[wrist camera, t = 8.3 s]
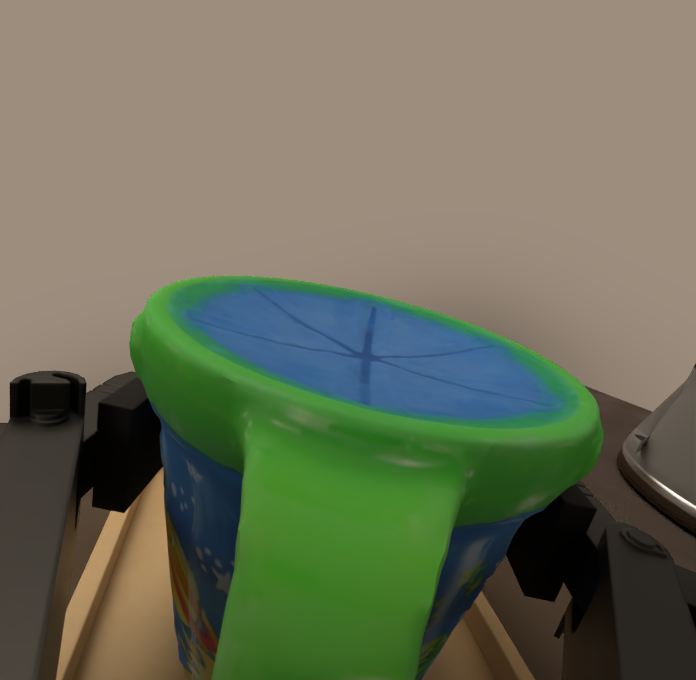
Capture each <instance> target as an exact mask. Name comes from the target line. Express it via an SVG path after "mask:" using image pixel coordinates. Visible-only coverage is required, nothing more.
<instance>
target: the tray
mask: <svg viewBox="0 0 696 680" xmlns="http://www.w3.org/2000/svg"><path fill="white" fill-rule="evenodd" d="M163 479H164V468H163V467H162V468H161V469H160V471H159V472H158V473H157V474H156V475H155V477H154V478H153V479H152V480H151V481H150V483H149V484H148V485H147V486H146V487H145V489H144V490H143V491H142V492H141V493H140V495H139V496H138V497H137V498H136V500H135V501H134V502H133V503H132V504H131V506H130V507H129V508H128V509H127V510H126V512H125V513H121V512H116V511H111V512H110V514H109V516H108V519H107V521H106V523H105V525H104V528H103V530H102V532H101V534H100V536H99V539H98V541H97V543H96V545H95V548H94V550H93V552H92V554H91V556H90V559H89V561H88V563H87V565H86V568H85V570H84V572H83V574H82V576H81V579H80V581H79V583H78V585H77V587H76V590H75V592H74V594H73V596H72V599H71V601H70V603H69V605H68V607H67V610H66V613H65V620H64V627H63V634H62V641H61V648H60V655H59V662H58V669H57V676H56V680H188V678H187V676H186V674H185V672H184V667H183V665H182V663H181V662H180V660H179V652H178V641H177V637H176V633H175V627H174V612H173V595H172V589H171V581H170V571H169V558H168V545H167V531H166V520H165V508H164V485H163ZM422 680H535V679H534V677H533V676H532V674H531V672H530V671H529V669H528V667H527V666H526V664H525V662H524V661H523V659H522V657H521V656H520V654H519V652H518V651H517V649H516V647H515V646H514V644H513V642H512V641H511V639H510V637H509V636H508V634H507V632H506V631H505V629H504V627H503V626H502V624H501V622H500V621H499V619H498V617H497V616H496V614H495V612H494V611H493V609H492V607H491V606H490V604H489V602H488V601H487V599H486V597H485V596H484V594H483V592H482V591H481V592H480V594H479V595H478V597H477V598H476V600H475V601H474V603H473V604H472V606H471V608H470V609H469V610H468V611H466V612H465V614H464V616H463V618H462V620H461V621H460V622H459V623H458V625H457V626H456V627H455V628H454V630H453V631H452V633H451V635H450V637H449V638H448V640H447V641H446V643H445V645H444V647H443V649H442V650H441V652H440V654H439V655H438V657H437V658H436V659H435V660H434V662H433V664H432V666H431V667H430V668H429V670H428V671H427V673H426V674H425V676H424V677H423V678H422Z"/></svg>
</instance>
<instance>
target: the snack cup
mask: <svg viewBox="0 0 696 680" xmlns="http://www.w3.org/2000/svg"><path fill="white" fill-rule="evenodd" d="M129 344H130V355H131V359H132V362H133V365H134V368H135V372H136V375H137V377H138V378H139V379H140V380H141V381H142V383H143V385H144V388H145V391H146V394H147V396H148V398H149V401H150V403H151V406H152V409H153V410H154V412H155V414H156V415H157V416H158V417H159V419H160V422H161V425H162V428H161V433H160V451H161V461H162V465H163V468H164V479H163V485H164V508H165V520H166V531H167V545H168V558H169V571H170V581H171V589H172V595H173V612H174V627H175V633H176V637H177V641H178V652H179V660H180V662H181V663H182V665H183V667H184V672H185V674H186V676H187V678H188V680H422V678H423V677H424V676H425V674H426V673H427V671H428V670H429V668H430V667H431V666H432V664H433V662H434V660H435V659H436V658H437V657H438V655H439V654H440V652H441V650H442V649H443V647H444V645H445V643H446V641H447V640H448V638H449V637H450V635H451V633H452V631H453V630H454V628H455V627H456V626H457V625H458V623H459V622H460V621H461V620H462V618H463V616H464V614H465V612H466V611H468V610H469V609H470V608H471V606H472V604H473V603H474V601H475V600H476V598H477V597H478V595H479V594H480V592H481V591H482V589H483V587H484V584H485V581H486V579H487V578H488V577H490V576H491V575H493V573H494V571H495V570H496V568H497V567H498V565H499V564H500V562H501V561H502V560H503V558H504V556H505V554H506V552H507V549H508V547H509V544H510V542H511V540H512V538H513V536H514V535H515V533H516V531H517V530H518V528H519V527H520V525H521V524H522V523H523V521H524V520H525V519H527V518H528V517H530V516H532V515H533V514H536V513H538V512H541V511H543V510H544V509H545V508H546V507H547V506H548V505H549V504H550V503H551V502H552V501H553V500H554V499H556V498H557V497H558V496H559V495H560V494H561V493H562V492H563V491H565V490H566V489H567V488H569V487H570V486H572V485H574V484H576V483H577V482H578V481H580V480H581V479H583V478H584V477H585V476H586V475H587V474H588V473H589V472H590V471H591V470H592V469H593V467H594V466H595V464H596V462H597V460H598V457H599V455H600V452H601V450H602V444H603V433H604V432H603V428H602V425H601V421H600V416H599V408H598V404H597V402H596V400H595V398H594V397H593V396H592V394H591V393H590V392H589V391H588V390H587V388H586V387H585V386H584V385H582V384H581V383H580V382H579V381H578V380H577V379H576V378H575V377H573V376H572V375H571V374H569V373H568V372H567V371H565V370H564V369H563V368H561V367H559V366H558V365H557V364H555V363H553V362H552V361H550V360H548V359H546V358H544V357H542V356H541V355H539V354H537V353H535V352H533V351H531V350H530V349H527V348H525V347H524V346H522V345H520V344H518V343H516V342H514V341H512V340H509V339H507V338H505V337H502V336H500V335H498V334H495V333H493V332H490V331H488V330H486V329H483V328H481V327H478V326H475V325H472V324H470V323H467V322H464V321H461V320H459V319H456V318H452V317H450V316H447V315H444V314H441V313H438V312H435V311H432V310H428V309H424V308H421V307H417V306H414V305H410V304H407V303H404V302H400V301H396V300H392V299H388V298H384V297H381V296H377V295H372V294H368V293H363V292H359V291H354V290H350V289H344V288H339V287H333V286H328V285H323V284H317V283H311V282H304V281H296V280H287V279H279V278H264V277H251V276H216V277H215V276H212V277H202V278H192V279H187V280H182V281H179V282H175V283H172V284H170V285H168V286H164V287H163V288H161V289H159V290H158V291H157V292H155V293H154V294H153V295H152V296H151V298H150V299H149V300H148V301H147V304H146V306H145V309H144V311H143V312H142V313H141V314H139V315H138V316H137V318H136V319H135V321H134V322H133V324H132V330H131V336H130V343H129Z"/></svg>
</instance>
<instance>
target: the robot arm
mask: <svg viewBox="0 0 696 680" xmlns="http://www.w3.org/2000/svg"><path fill="white" fill-rule="evenodd" d="M161 428H162V425H161V422H160V419H159V417H158V416H157V415H156V414H155V412H154V410H153V409H152V406H151V403H150V401H149V398H148V396H147V394H146V391H145V388H144V385H143V383H142V381H141V380H140V379H139V378H138V377H137V375H136V372H128V373H124V374H121V375H117V376H114V377H112V378H111V379H109V380H107V381H106V382H104V383H103V385H99V386H97V387H96V388H94V389H93V391H89V392H87V393H86V381H85V379H84V378H83V377H81V376H80V375H78V374H74V373H70V372H63V371H39V372H34V373H28V374H25V375H22V376H19V377H17V378H15V379H14V380H13V381H12V382H10V420H9V422H8V423H0V680H56V676H57V669H58V662H59V655H60V648H61V641H62V634H63V627H64V620H65V613H66V606H67V599H68V592H69V585H70V578H71V571H72V564H73V557H74V550H75V543H76V536H77V529H78V522H79V515H80V501H81V498H82V497H83V496H84V495H85V494H86V493H87V492H88V491H89V490H90V489H91V488H92V487H93V500H92V507H96V508H101V509H106V510H111V511H116V512H121V513H125V512H126V510H127V509H128V508H129V507H130V506H131V504H132V503H133V502H134V501H135V500H136V498H137V497H138V496H139V495H140V493H141V492H142V491H143V490H144V489H145V487H146V486H147V485H148V484H149V483H150V481H151V480H152V479H153V478H154V477H155V475H156V474H157V473H158V472H159V471H160V469H161V468H162V467H163V465H162V461H161V451H160V433H161ZM617 464H618V467H619V469H620V471H621V472H622V474H623V475H624V476H625V478H626V479H627V480H628V481H629V482H630V484H631V485H632V486H633V487H634V488H635V489H636V490H637V491H639V492H640V493H641V494H642V495H643V496H644V497H645V498H646V499H648V500H649V501H650V502H651V503H652V504H654V505H655V506H656V507H657V508H659V509H660V510H661V511H663V512H664V513H665V514H667V515H668V516H670V517H671V518H672V519H674V520H675V521H677V522H678V523H680V524H681V525H683V526H684V527H686V528H687V529H689V530H690V531H692V532H693V533H695V534H696V364H695V366H694V368H693V370H692V372H691V374H690V375H689V377H688V378H687V380H686V381H685V382H684V383H683V384H682V385H681V386H680V387H679V388H678V389H677V390H676V391H675V392H673V394H671V395H670V396H669V397H668V398H667V399H666V400H665V401H664V402H663V403H662V404H661V405H660V406H659V407H658V408H657V409H656V410H654V411H653V412H652V413H651V414H650V415H649V416H648V417H647V418H646V419H645V420H644V421H643V422H642V423H641V424H640V425H639V426H638V427H637V428H635V429H634V430H633V431H632V432H631V433H630V435H629V436H628V438H626V440H625V441H624V443H623V446H622V448H621V450H620V452H619V454H618V457H617ZM593 496H594V495H593V494H592V493H591V492H590V491H589V490H588V489H587V488H585V485H584V484H583V483H582V482H581V481H578V482H577V483H576V484H574V485H572V486H570V487H569V488H567V489H566V490H565V491H563V492H562V493H561V494H560V495H559V496H558V497H557V498H556V499H554V500H553V501H552V502H551V503H550V504H549V505H548V506H547V507H546V508H545V509H544V510H543V511H541V512H538V513H536V514H533V515H532V516H530V517H528V518H527V519H525V520H524V521H523V523H522V524H521V525H520V527H519V528H518V530H517V531H516V533H515V535H514V536H513V538H512V540H511V542H510V544H509V547H508V549H507V552H506V556H507V558H508V560H509V563H510V565H511V567H512V569H513V571H514V574H515V576H516V578H517V580H518V583H519V585H520V587H521V589H522V591H523V594H524V596H528V597H533V598H538V599H542V600H547V601H552V602H555V599H556V597H557V595H558V593H559V591H560V589H561V587H562V584H563V582H564V583H565V585H566V587H567V588H568V590H569V592H570V594H571V595H572V599H571V601H570V603H569V605H568V607H567V609H566V611H565V613H564V615H563V618H562V620H561V622H560V624H559V626H558V628H557V630H556V632H555V635H554V636H555V637H557V638H558V639H559V638H560V636H561V634H562V633H564V651H563V671H562V680H696V573H695V572H693V571H690V570H688V569H685V568H683V567H680V566H678V565H675V564H674V561H673V558H672V557H671V555H670V553H669V552H668V550H667V549H665V547H664V546H662V545H661V544H660V543H659V542H658V541H657V540H655V539H654V538H652V537H651V536H650V535H648V534H646V533H645V532H643V531H641V530H639V529H637V528H635V527H633V526H630V525H627V524H625V523H620V522H616V520H615V519H614V518H613V517H612V516H611V515H610V514H609V512H608V511H607V510H606V509H605V508H604V507H603V506H602V504H601V503H600V502H599V501H598V500H597V499H596V498H594V497H593Z"/></svg>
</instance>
